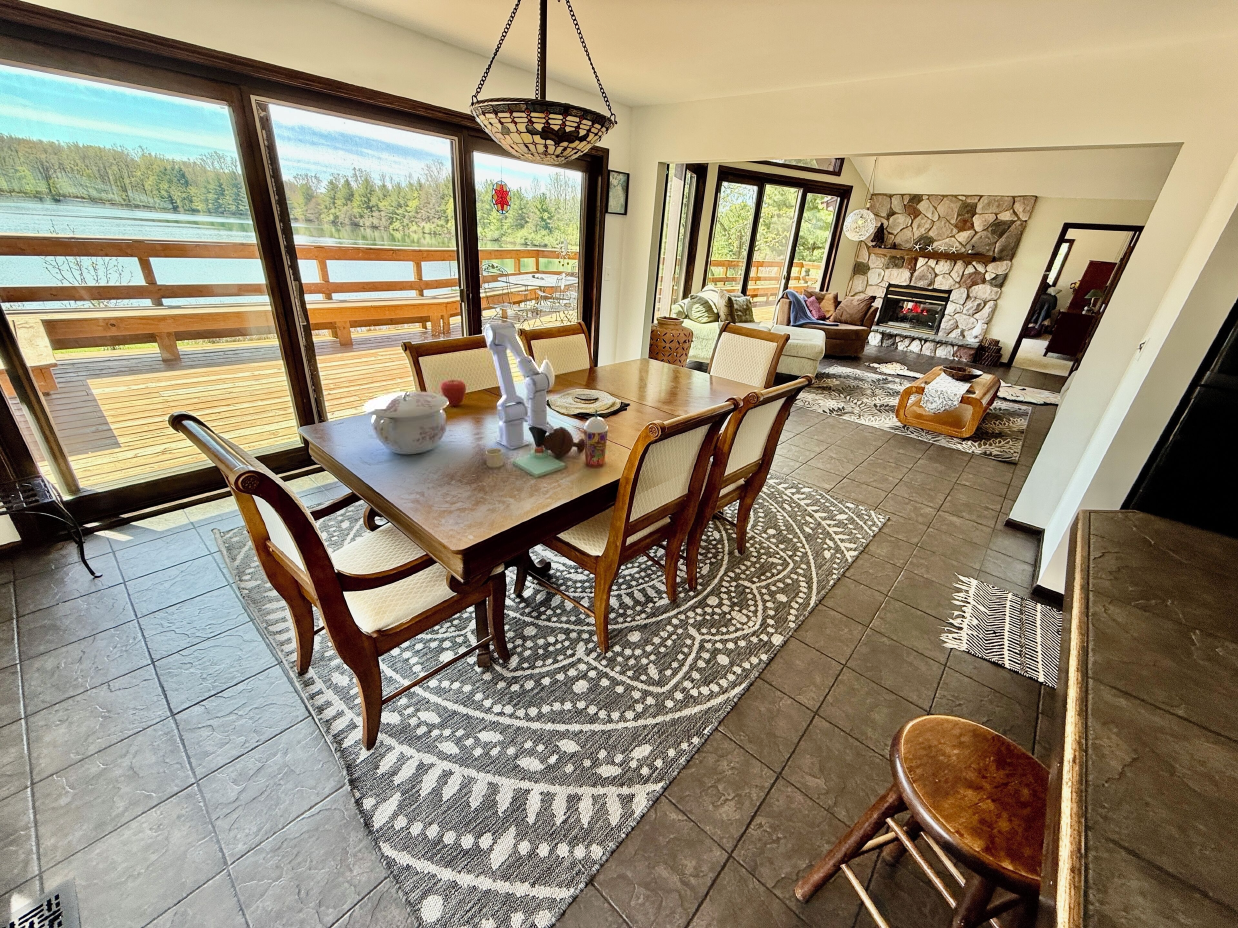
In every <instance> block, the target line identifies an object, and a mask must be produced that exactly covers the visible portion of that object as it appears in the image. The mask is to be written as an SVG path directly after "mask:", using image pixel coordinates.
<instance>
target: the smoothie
mask: <svg viewBox="0 0 1238 928" xmlns="http://www.w3.org/2000/svg"><path fill="white" fill-rule="evenodd" d="M608 432H609V426H608V424H607V422H605V420H604V419H603V418H602V417H599V416H598V409H595V410H594V416H593V417H590V418H588V419H587V420H586V422H585V424H584V425H583V439H584V443H585V449H584V460H585V463H586V465H587V466H588V467H592V468H599V467H602V466H603V465H604V463H605V462H606V451H607V441H608Z"/></svg>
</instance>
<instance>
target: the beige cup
mask: <svg viewBox="0 0 1238 928" xmlns="http://www.w3.org/2000/svg"><path fill="white" fill-rule="evenodd" d="M485 458H486V465H487V466H488V468H492V469H493V468H501V467H502V466H503V465H504V451H503V449H502V448H498V447H493V448H488V449H486V450H485Z"/></svg>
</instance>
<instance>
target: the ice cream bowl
mask: <svg viewBox="0 0 1238 928" xmlns="http://www.w3.org/2000/svg"><path fill="white" fill-rule="evenodd" d="M573 447H574V448H576V451H577V452H578V453H579V454H582V453H583V452H585V443H584V437H582V438H579V439H578V441H577V442H576V441H574V437H573V435H572V433H571V432H570V431H569V430H568V429H567V428H565V427H563V426H560V427H557V428H554V432H552V433H547V434H546V435H545V438H544V442H543V448H545V449H546V450H548V451H550V453H551V454H552V456H554V457H555V458H561V457H564V456H567V455H568V454H569V453H570V452H571V451H572V449H573Z"/></svg>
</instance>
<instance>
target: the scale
mask: <svg viewBox="0 0 1238 928" xmlns="http://www.w3.org/2000/svg"><path fill="white" fill-rule="evenodd" d="M543 449H544V452H543V453H535V447H534V448H532V449H531V450H530V454H527V455H524V456H521V457H518V458H514V459H512V464H513V465H514V466H516V467H518V468H520V469H521V470H523V471H524V472H526V473H528V474H530V475H531V476H532V477H534V478H536V479H537V478H541V477H543V476H545V475H548V474H552V473H555V472H557V471H559V470H564V469H565V468H566V464H565V463H564V462H563V461H560V460H558V459H556V457H555V458H554V457H553V456H551V455H549V450H546V449H545V448H544V447H543Z"/></svg>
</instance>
